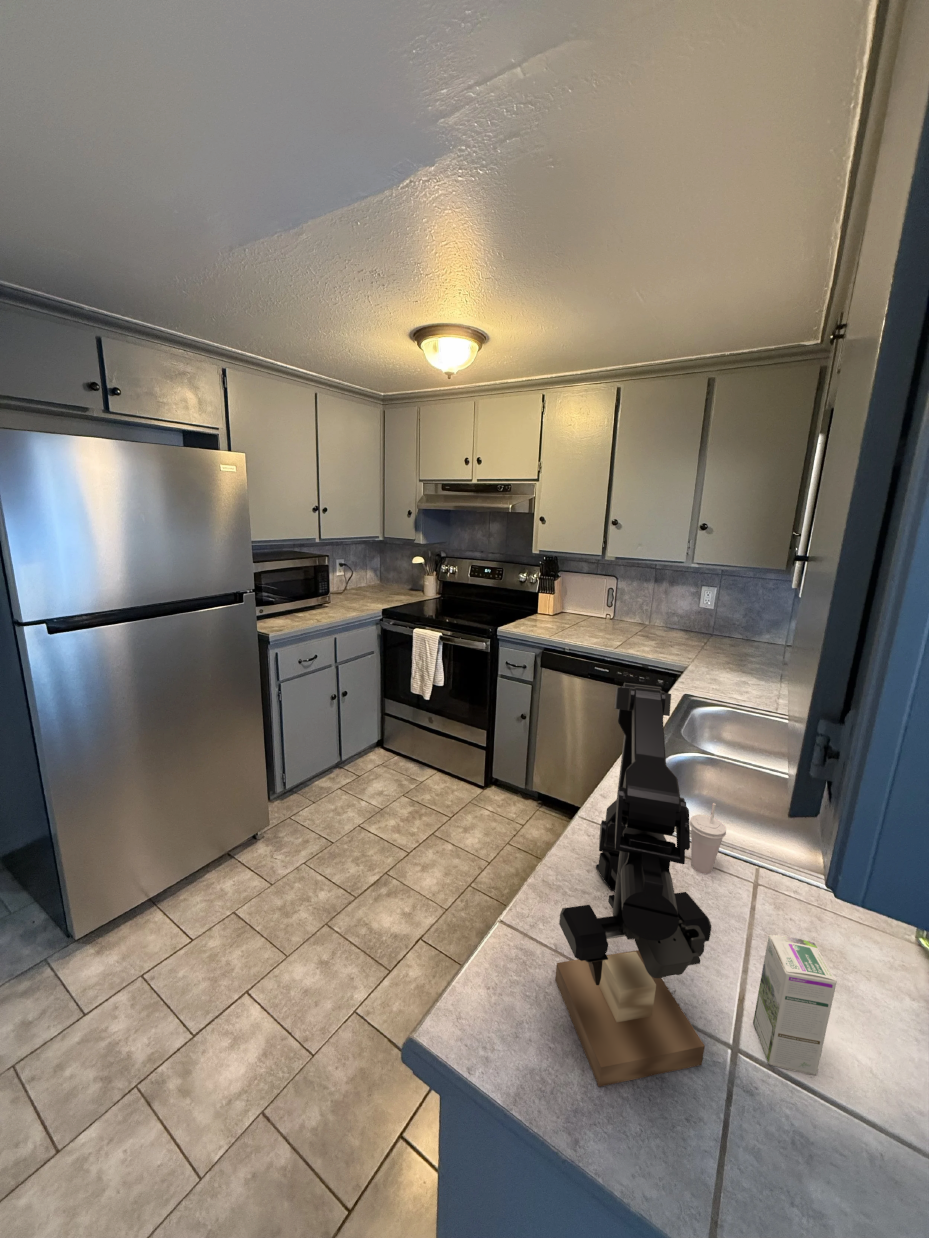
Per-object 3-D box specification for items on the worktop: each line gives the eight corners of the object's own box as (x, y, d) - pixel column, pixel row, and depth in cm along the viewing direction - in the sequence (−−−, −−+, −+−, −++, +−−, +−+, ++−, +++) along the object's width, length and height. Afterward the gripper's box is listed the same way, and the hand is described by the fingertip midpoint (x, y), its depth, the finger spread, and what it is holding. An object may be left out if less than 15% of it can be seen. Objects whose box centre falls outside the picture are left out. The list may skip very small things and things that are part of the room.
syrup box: (818, 1077, 60) (841, 981, 57) (766, 1065, 61) (786, 970, 58) (797, 1031, 66) (817, 940, 63) (750, 1020, 67) (767, 931, 64)
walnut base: (641, 965, 75) (643, 949, 74) (701, 1064, 61) (704, 1045, 61) (555, 979, 72) (556, 962, 71) (598, 1086, 58) (601, 1067, 58)
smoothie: (725, 879, 93) (736, 814, 91) (692, 878, 94) (702, 813, 91) (709, 856, 100) (719, 795, 97) (678, 855, 100) (687, 793, 97)
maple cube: (631, 980, 69) (635, 951, 68) (651, 1015, 64) (656, 984, 63) (599, 986, 68) (602, 956, 67) (616, 1022, 63) (620, 990, 62)
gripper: (602, 938, 52) (589, 1053, 55) (752, 916, 56) (732, 1025, 59) (562, 866, 63) (553, 966, 66) (690, 851, 67) (676, 947, 70)
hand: (627, 976), depth 65 cm, fingers open, 9 cm apart
